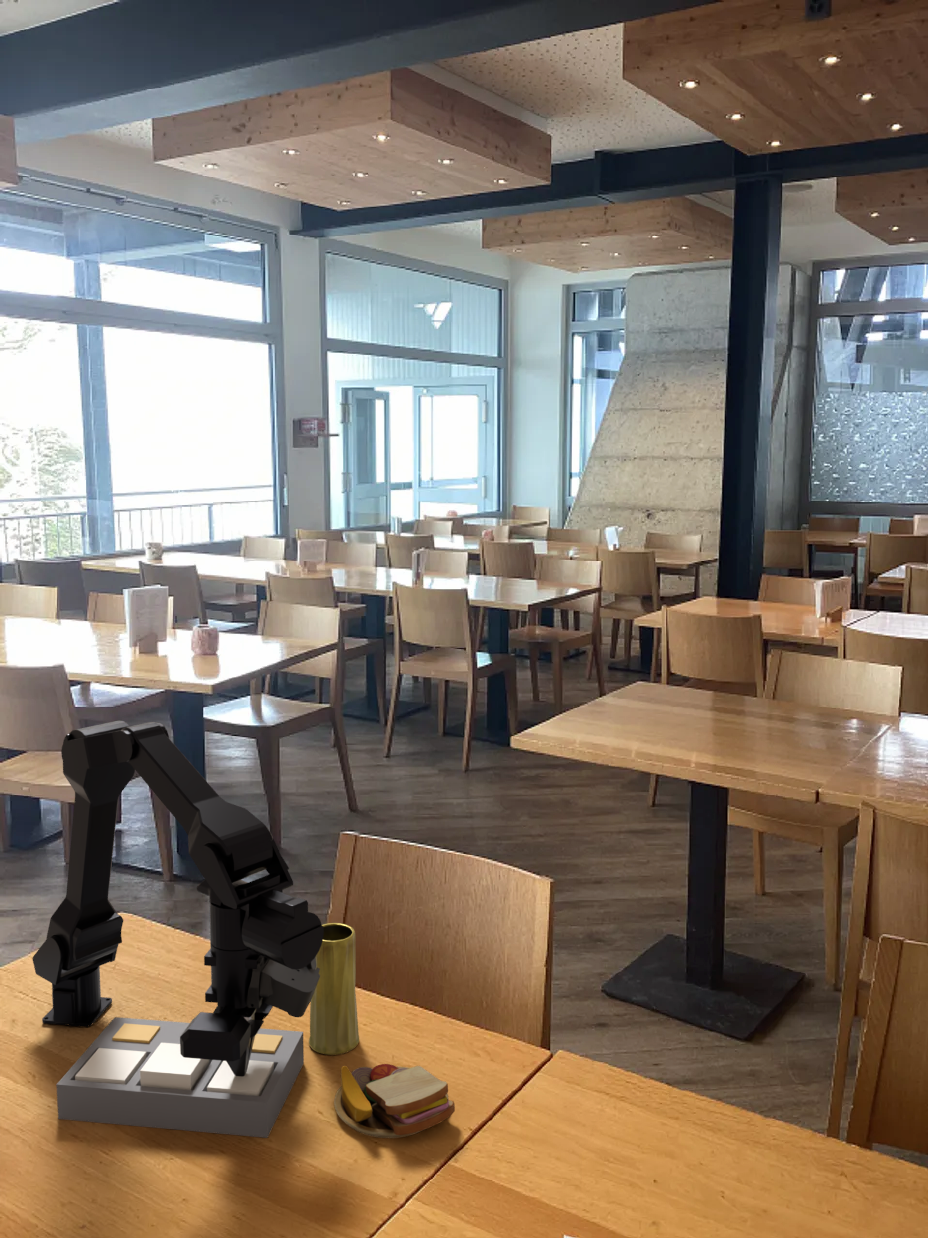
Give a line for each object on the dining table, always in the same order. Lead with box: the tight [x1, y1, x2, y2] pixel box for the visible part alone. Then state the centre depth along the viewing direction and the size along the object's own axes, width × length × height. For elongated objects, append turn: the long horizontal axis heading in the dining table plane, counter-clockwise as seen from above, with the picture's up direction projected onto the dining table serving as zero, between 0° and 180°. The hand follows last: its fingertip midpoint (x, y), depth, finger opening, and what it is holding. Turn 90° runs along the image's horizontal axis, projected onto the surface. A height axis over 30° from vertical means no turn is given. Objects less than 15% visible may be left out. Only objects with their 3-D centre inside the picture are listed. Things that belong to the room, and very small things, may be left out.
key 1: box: [75, 1048, 146, 1085], centre depth 117 cm, size 6×6×2 cm
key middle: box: [140, 1043, 210, 1090], centre depth 116 cm, size 6×6×2 cm
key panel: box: [55, 1016, 305, 1139], centre depth 119 cm, size 23×14×4 cm, turn 83°
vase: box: [308, 922, 360, 1056], centre depth 129 cm, size 6×6×14 cm
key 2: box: [207, 1060, 274, 1096], centre depth 115 cm, size 6×6×2 cm
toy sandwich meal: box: [333, 1063, 456, 1139], centre depth 116 cm, size 12×14×5 cm
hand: (240, 1074), depth 115 cm, fingers closed, pressing on key 2
